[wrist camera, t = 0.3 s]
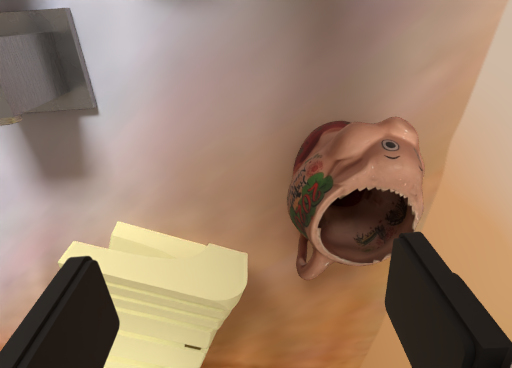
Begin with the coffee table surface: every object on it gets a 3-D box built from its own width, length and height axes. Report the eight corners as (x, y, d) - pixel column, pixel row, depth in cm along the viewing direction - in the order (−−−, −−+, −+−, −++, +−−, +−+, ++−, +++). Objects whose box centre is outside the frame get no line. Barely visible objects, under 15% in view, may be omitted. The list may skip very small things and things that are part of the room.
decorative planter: (336, 241, 48) (365, 321, 36) (256, 217, 46) (259, 293, 34) (412, 113, 40) (485, 159, 28) (319, 76, 38) (353, 108, 25)
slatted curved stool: (190, 345, 58) (168, 471, 42) (95, 325, 55) (34, 451, 39) (247, 204, 45) (247, 308, 29) (128, 168, 43) (57, 262, 27)
